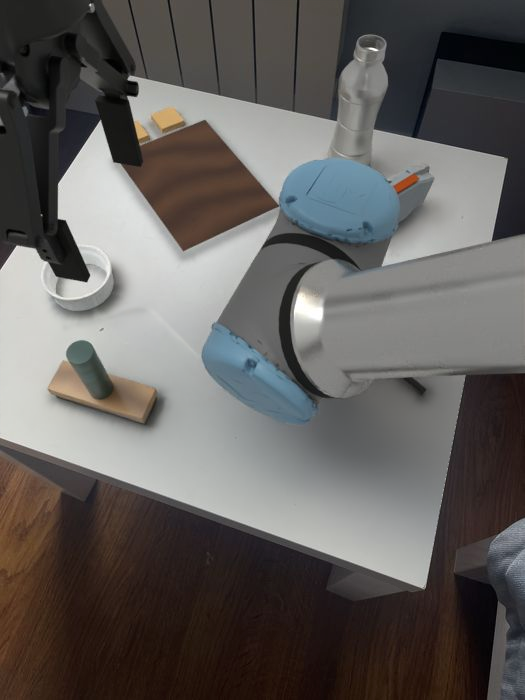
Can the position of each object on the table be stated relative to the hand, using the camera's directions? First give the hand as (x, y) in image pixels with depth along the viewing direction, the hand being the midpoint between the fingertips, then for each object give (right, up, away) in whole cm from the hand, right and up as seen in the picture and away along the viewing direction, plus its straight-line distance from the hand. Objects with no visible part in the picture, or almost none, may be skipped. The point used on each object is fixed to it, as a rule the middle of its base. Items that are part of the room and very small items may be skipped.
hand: (102, 215), depth 47 cm
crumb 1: (-6, +21, +39) cm, 45 cm away
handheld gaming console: (+32, +7, +32) cm, 46 cm away
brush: (-5, -18, +17) cm, 25 cm away
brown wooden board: (+4, +13, +34) cm, 37 cm away
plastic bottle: (+27, +17, +37) cm, 49 cm away
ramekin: (-10, -4, +25) cm, 27 cm away
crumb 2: (-1, +24, +41) cm, 47 cm away
